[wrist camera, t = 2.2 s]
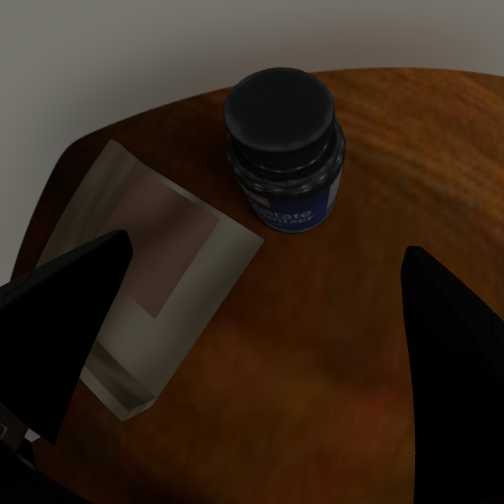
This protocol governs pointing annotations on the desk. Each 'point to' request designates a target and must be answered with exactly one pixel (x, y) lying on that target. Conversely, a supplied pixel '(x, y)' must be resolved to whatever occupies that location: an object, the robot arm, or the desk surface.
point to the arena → (150, 274)
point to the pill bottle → (285, 147)
